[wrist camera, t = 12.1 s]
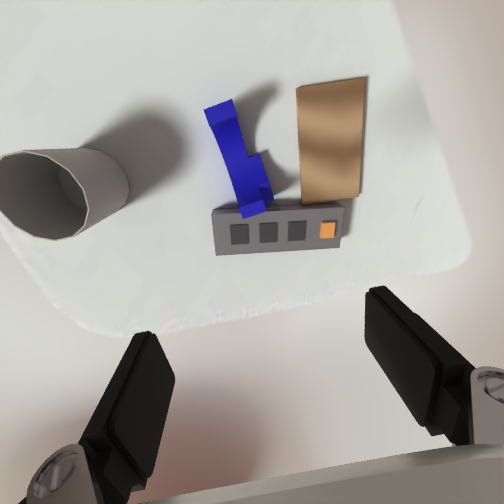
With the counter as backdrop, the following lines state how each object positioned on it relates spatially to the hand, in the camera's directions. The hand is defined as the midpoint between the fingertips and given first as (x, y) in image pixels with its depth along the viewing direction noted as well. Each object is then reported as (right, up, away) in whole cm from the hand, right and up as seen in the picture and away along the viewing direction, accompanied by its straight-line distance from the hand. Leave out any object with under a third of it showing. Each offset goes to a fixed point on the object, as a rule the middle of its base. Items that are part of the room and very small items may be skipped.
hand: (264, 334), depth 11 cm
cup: (-21, +13, +21) cm, 32 cm away
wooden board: (+10, +17, +21) cm, 29 cm away
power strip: (+3, +8, +25) cm, 27 cm away
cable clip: (-2, +16, +21) cm, 27 cm away
